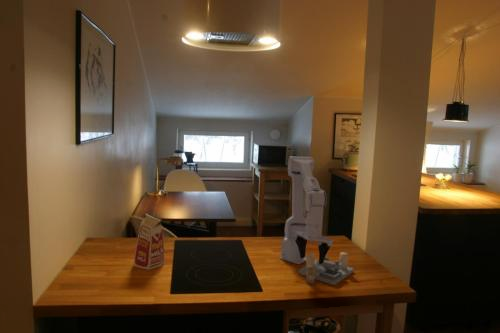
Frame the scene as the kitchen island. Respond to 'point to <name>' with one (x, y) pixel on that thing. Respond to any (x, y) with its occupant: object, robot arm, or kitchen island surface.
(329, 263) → the bar
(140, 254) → the milk carton
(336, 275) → the board
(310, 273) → the leg peg
